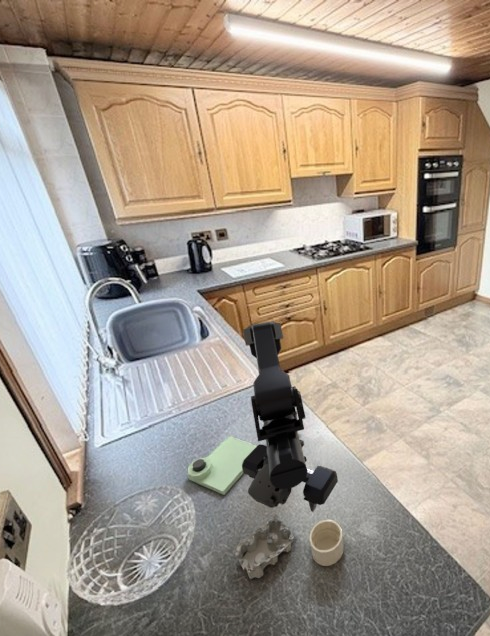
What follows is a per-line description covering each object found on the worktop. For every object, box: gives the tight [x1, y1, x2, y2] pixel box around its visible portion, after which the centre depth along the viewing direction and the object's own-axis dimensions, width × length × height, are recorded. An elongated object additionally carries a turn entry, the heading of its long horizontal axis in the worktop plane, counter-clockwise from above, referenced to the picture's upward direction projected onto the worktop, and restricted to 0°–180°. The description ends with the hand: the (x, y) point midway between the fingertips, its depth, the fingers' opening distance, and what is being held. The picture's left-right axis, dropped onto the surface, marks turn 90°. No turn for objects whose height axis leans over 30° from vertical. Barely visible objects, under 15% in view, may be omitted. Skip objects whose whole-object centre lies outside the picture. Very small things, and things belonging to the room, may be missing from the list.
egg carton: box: [234, 514, 295, 580], centre depth 72 cm, size 11×8×4 cm
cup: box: [308, 519, 345, 567], centre depth 71 cm, size 7×7×5 cm
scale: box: [187, 435, 258, 496], centre depth 93 cm, size 15×13×3 cm
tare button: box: [193, 458, 205, 472], centre depth 90 cm, size 3×3×2 cm
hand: (294, 501), depth 70 cm, fingers open, 9 cm apart
